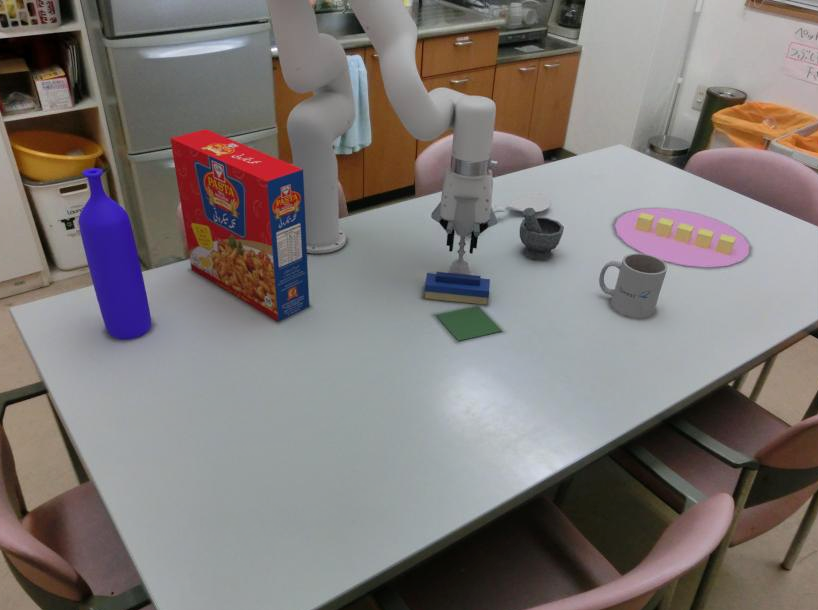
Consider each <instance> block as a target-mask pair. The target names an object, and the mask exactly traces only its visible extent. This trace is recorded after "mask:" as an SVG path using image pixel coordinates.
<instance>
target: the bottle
mask: <svg viewBox="0 0 818 610" xmlns="http://www.w3.org/2000/svg"><path fill="white" fill-rule="evenodd" d="M81 174H82V176H83V177H85V178H86V179H87V182H88V186H89V192H90V194H89V198H88V200H87V201H86V202H85V204H84V206H83V207H82V209H81V211H80V213H79V216H78V227H79V233H80V237H81V241H82V245H83V250H84V255H85V258H86V263H87V265H88V269H89V274H90V277H91V281H92V285H93V288H94V292H95V296H96V299H97V303H98V307H99V310H100V314H101V318H102V320H103V324H104V327H105V329H106V331H107V333H108V335H110V336H111V337H112V338H114V339H119V340H132V339H136V338H140V337H142V336H144V335H145V334H147V333H148V332H149V331H150V329H151V327H152V316H151V310H150V305H149V300H148V294H147V290H146V285H145V280H144V275H143V270H142V265H141V261H140V257H139V256H140V255H139V252H138V247H137V243H136V239H135V234H134V231H133V227H132V223H131V220H130V217H129V214H128V212H127V210H125V209H124V207H123V206H122V205H120V204H119V203H118V202H116V200H114V199H112V198H111V197H110V196H108V195H107V193H106V192H105V190H104V187H103V182H102V176H103V175H104V170H102V169H101V168H96V167H94V168H93V167H92V168H87V169H84V170H83V171H82V173H81Z"/></svg>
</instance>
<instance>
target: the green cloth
mask: <svg viewBox="0 0 818 610" xmlns="http://www.w3.org/2000/svg"><path fill="white" fill-rule="evenodd" d="M435 316H436V318H437V319H438V320H439V321H440V322H441V323H442V324H443V326H444V327H445V328H446V329H447V330H448V331H449V333H450V334H451V335H452V336H453V337H454V338H455V340H456V341H457V342H462V341H466V340H467V341H468V340H470V339H475V338H479V337H480V338H481V337H483V336H484V337H485V336H488V335H492V334H497V333H502V332H503V330H502V329H501V328H500V327H499V326H498V324H496V323H495V322H494V321H493V320H492V319H491V318H490V317H489V316H488V315H487V313H486V312H485V311H483V309H482V308H480V306H479V305H477V306H472V307H467V308H462V309H457V310H452V311H447V312H443V313H439V314H438V313H437V314H435Z"/></svg>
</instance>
